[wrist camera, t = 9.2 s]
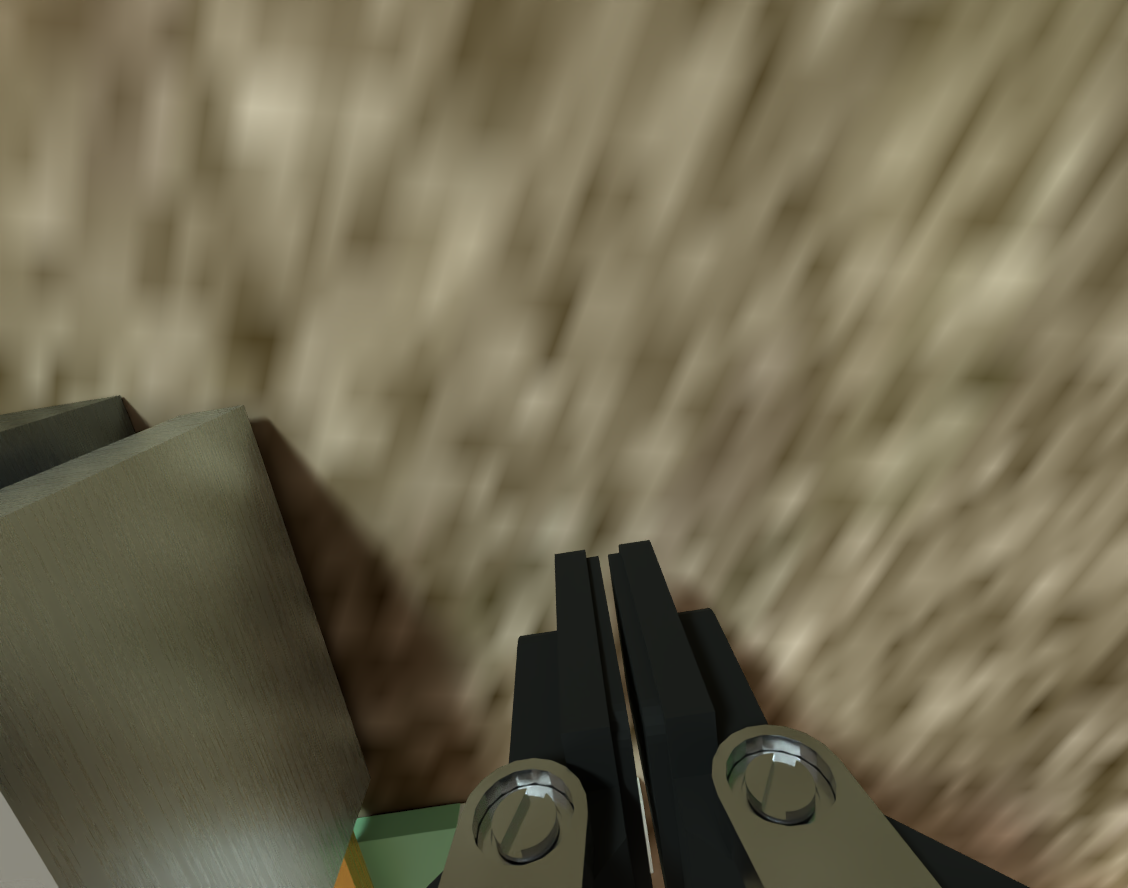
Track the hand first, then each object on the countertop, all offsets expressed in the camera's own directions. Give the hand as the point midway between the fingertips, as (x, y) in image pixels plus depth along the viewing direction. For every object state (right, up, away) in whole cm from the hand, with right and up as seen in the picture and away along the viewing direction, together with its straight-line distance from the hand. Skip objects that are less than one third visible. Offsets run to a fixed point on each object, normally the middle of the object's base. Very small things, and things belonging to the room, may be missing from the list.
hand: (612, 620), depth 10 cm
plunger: (-10, -3, +2) cm, 11 cm away
